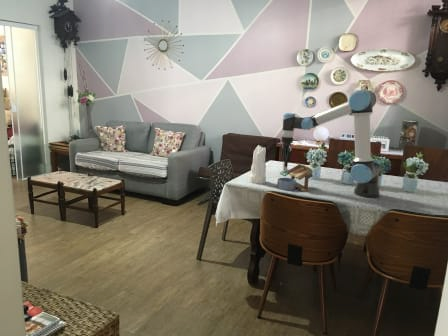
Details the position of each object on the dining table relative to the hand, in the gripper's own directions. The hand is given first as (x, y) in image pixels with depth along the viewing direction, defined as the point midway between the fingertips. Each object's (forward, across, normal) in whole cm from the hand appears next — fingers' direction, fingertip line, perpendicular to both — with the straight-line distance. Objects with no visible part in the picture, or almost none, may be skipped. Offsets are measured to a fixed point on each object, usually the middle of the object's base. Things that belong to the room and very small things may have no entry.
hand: (284, 170), depth 247 cm
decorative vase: (+9, -6, -17) cm, 20 cm away
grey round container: (+9, +12, -4) cm, 15 cm away
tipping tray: (+2, +8, +6) cm, 10 cm away
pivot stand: (+9, +12, +5) cm, 15 cm away
